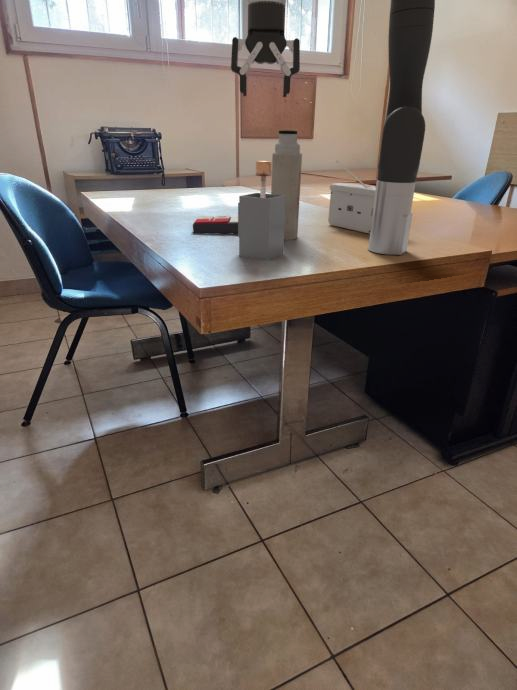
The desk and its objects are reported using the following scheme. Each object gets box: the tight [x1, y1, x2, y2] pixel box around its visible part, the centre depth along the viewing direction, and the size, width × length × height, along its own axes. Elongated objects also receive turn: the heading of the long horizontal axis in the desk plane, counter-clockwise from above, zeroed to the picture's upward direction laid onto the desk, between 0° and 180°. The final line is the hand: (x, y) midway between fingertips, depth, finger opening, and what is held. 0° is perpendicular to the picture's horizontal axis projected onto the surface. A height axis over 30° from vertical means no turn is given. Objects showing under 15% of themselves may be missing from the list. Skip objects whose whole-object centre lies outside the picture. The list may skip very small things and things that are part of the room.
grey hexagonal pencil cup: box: [237, 192, 286, 261], centre depth 109 cm, size 10×8×14 cm
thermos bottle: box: [270, 129, 303, 241], centre depth 125 cm, size 8×8×28 cm
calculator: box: [192, 215, 238, 235], centre depth 138 cm, size 11×4×15 cm
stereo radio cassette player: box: [327, 160, 376, 235], centre depth 140 cm, size 21×8×20 cm, turn 37°
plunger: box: [255, 160, 272, 198], centre depth 107 cm, size 6×6×20 cm
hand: (264, 96), depth 97 cm, fingers open, 8 cm apart
